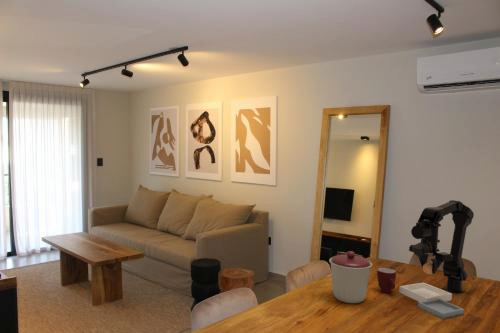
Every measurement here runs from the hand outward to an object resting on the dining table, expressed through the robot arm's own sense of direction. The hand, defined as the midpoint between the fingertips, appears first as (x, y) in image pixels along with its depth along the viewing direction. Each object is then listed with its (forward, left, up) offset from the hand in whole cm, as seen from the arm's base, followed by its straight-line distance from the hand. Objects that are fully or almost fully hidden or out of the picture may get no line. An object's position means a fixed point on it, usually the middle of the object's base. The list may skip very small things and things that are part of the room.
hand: (428, 271), depth 171 cm
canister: (+33, -12, -13) cm, 38 cm away
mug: (+11, -12, -12) cm, 21 cm away
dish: (-2, -3, -12) cm, 13 cm away
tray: (+5, +11, -12) cm, 18 cm away
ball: (0, 0, +1) cm, 2 cm away
